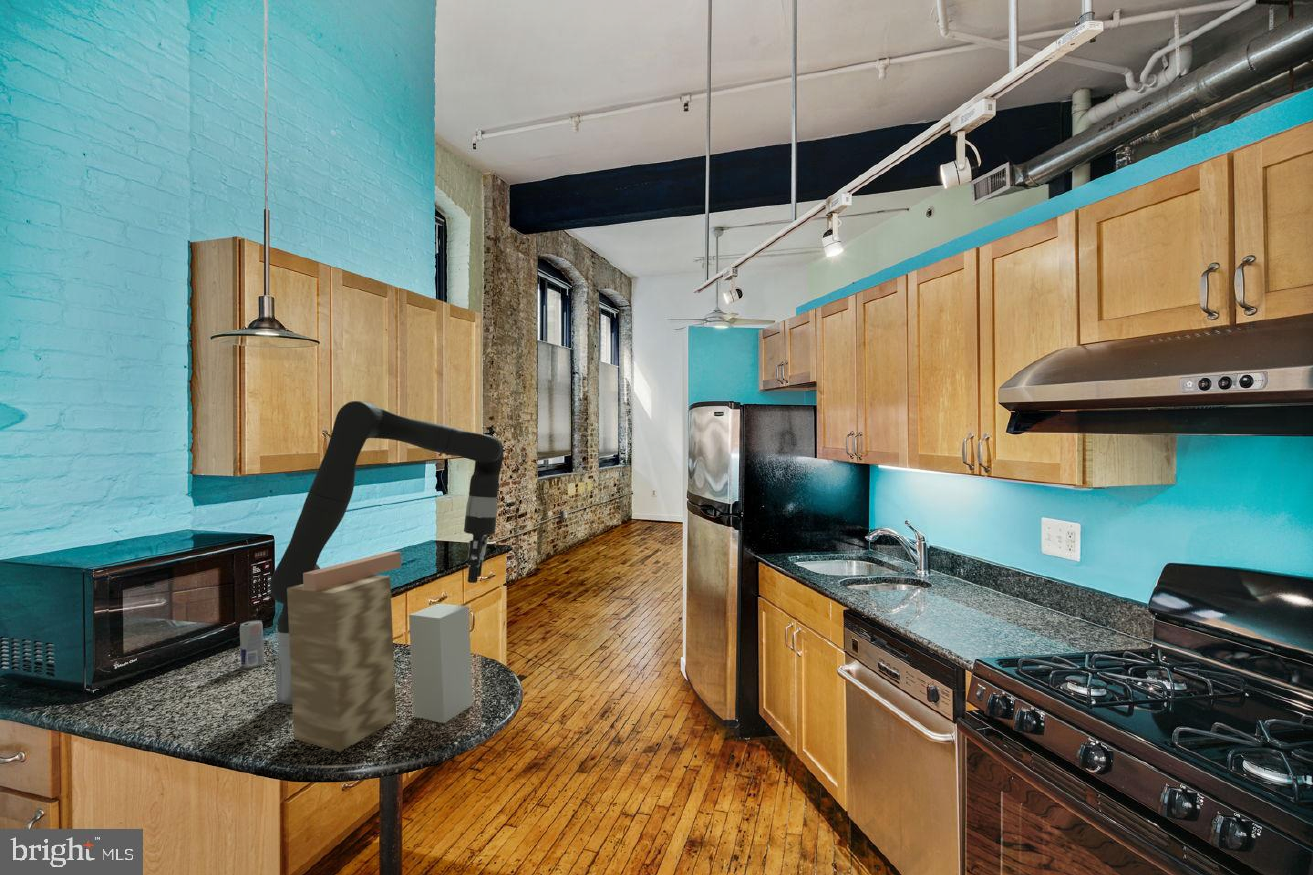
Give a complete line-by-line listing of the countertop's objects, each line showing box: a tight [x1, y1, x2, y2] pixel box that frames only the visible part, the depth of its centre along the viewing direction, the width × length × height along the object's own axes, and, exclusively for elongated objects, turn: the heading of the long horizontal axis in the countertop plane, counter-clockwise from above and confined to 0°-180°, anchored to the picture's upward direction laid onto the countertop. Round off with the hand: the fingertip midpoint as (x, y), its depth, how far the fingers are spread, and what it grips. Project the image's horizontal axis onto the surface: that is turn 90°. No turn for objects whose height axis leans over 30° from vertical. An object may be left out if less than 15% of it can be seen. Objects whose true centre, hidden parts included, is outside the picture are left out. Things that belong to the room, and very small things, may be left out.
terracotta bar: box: [303, 551, 403, 591], centre depth 132 cm, size 22×4×4 cm, turn 156°
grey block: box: [408, 603, 474, 724], centre depth 135 cm, size 9×9×23 cm
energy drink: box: [239, 619, 265, 669], centre depth 168 cm, size 5×5×12 cm
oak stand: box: [287, 574, 397, 753], centre depth 128 cm, size 14×14×32 cm
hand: (474, 579), depth 149 cm, fingers open, 8 cm apart
